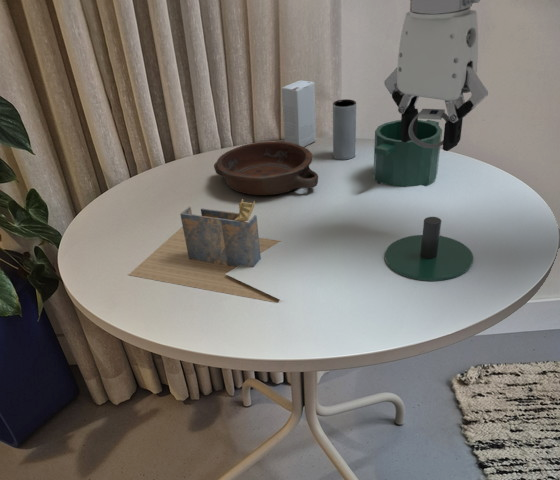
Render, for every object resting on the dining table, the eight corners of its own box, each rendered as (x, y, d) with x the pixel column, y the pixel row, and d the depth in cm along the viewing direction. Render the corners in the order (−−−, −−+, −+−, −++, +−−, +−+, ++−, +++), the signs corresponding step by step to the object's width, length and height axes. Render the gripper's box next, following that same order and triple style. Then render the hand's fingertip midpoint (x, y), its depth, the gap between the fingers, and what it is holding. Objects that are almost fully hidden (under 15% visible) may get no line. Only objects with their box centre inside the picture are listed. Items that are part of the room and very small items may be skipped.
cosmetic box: (301, 138, 128) (299, 78, 120) (317, 141, 125) (316, 81, 117) (283, 146, 124) (279, 86, 116) (299, 150, 122) (296, 89, 114)
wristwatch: (405, 149, 85) (407, 113, 82) (410, 142, 87) (412, 107, 83) (448, 151, 83) (451, 115, 79) (452, 145, 84) (456, 109, 81)
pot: (455, 168, 110) (461, 122, 104) (405, 200, 101) (409, 151, 95) (404, 155, 116) (407, 111, 110) (352, 184, 107) (353, 138, 102)
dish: (238, 160, 120) (236, 135, 117) (337, 172, 112) (336, 146, 109) (194, 194, 109) (189, 168, 106) (299, 210, 101) (298, 182, 97)
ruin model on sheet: (318, 246, 91) (317, 186, 84) (277, 302, 80) (272, 239, 73) (182, 226, 99) (171, 171, 93) (128, 274, 88) (111, 215, 81)
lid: (488, 256, 85) (496, 215, 81) (442, 294, 78) (448, 251, 74) (414, 233, 92) (418, 193, 87) (367, 266, 85) (369, 225, 81)
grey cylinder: (339, 161, 116) (339, 107, 109) (329, 154, 119) (328, 102, 112) (359, 156, 117) (360, 103, 110) (348, 150, 120) (349, 97, 114)
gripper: (520, -4, 70) (496, 145, 81) (399, -8, 79) (394, 126, 91) (489, 8, 66) (470, 163, 78) (367, 3, 75) (365, 141, 87)
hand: (429, 142), depth 84 cm, fingers closed on wristwatch, 6 cm apart
